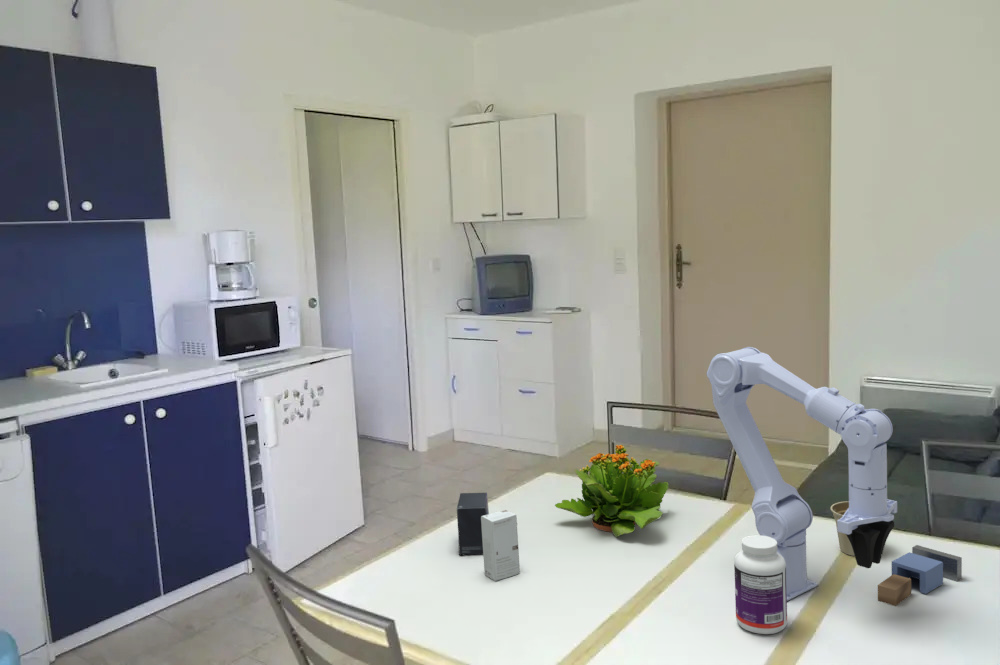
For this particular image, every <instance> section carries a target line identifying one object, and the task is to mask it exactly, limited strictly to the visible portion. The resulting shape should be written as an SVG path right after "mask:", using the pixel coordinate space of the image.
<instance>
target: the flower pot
mask: <svg viewBox="0 0 1000 665" xmlns="http://www.w3.org/2000/svg"><path fill="white" fill-rule="evenodd" d="M848 508H849V500H848V501H847V500H846V501H838V502H835V503H833V504H832V505H831V506H830V508H829V509H830V511H831V513H832V514H833V518H834V521H835V526H836V528H837V520H839V519H840V518H842V516H843V515H844V513H845V512H846V511H847V509H848ZM836 531H837V530H836ZM836 533H837V538H838V545H839V549H840V551H841V552H842V553H844V554H846V555H849V556H852V557H855V555H854V551H853V548H852V545H851V543H850V541H849V539H848V537H847V535H846V534H844V533H841V532H838V531H837V532H836Z"/></svg>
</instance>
